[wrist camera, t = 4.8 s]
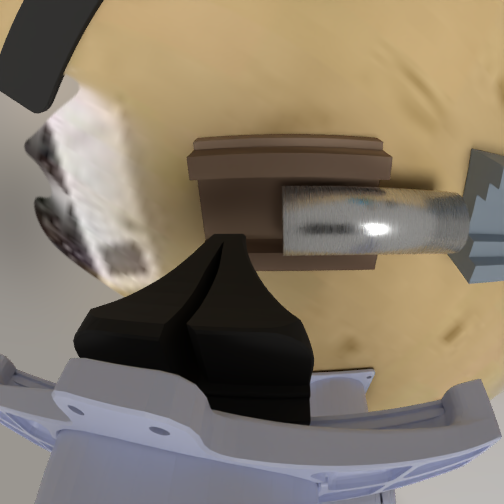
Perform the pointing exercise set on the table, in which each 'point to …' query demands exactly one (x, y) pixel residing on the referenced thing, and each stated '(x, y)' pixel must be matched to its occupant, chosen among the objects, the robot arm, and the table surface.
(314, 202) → the axle
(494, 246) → the v block
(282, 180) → the brown channel tray
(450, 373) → the table surface
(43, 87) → the phone
